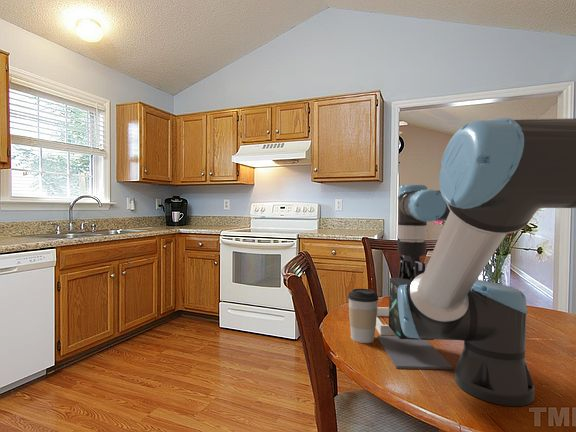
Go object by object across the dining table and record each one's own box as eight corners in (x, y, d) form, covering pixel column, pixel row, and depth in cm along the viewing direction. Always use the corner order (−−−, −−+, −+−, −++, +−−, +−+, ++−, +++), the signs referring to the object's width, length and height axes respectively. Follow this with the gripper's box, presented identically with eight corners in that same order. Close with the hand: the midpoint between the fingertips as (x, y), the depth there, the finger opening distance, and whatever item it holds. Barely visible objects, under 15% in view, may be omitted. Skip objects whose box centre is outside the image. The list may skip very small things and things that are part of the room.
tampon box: (434, 340, 89) (436, 285, 89) (399, 340, 89) (400, 285, 89) (419, 326, 100) (420, 277, 100) (388, 325, 100) (389, 276, 100)
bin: (435, 336, 105) (435, 326, 105) (380, 335, 106) (380, 325, 106) (413, 315, 125) (413, 307, 125) (367, 315, 126) (367, 307, 126)
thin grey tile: (453, 369, 84) (453, 367, 84) (396, 368, 84) (396, 365, 84) (423, 338, 104) (423, 336, 104) (377, 337, 104) (377, 335, 104)
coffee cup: (354, 331, 109) (355, 285, 109) (382, 337, 104) (382, 289, 104) (342, 339, 102) (343, 290, 102) (371, 347, 97) (371, 295, 96)
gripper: (443, 245, 82) (441, 334, 83) (411, 237, 106) (410, 306, 106) (412, 245, 82) (411, 334, 83) (387, 236, 106) (385, 306, 106)
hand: (410, 318), depth 95 cm, fingers closed on tampon box, 11 cm apart
